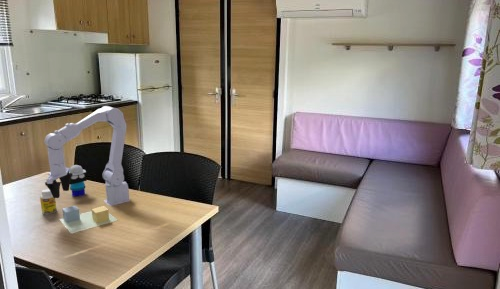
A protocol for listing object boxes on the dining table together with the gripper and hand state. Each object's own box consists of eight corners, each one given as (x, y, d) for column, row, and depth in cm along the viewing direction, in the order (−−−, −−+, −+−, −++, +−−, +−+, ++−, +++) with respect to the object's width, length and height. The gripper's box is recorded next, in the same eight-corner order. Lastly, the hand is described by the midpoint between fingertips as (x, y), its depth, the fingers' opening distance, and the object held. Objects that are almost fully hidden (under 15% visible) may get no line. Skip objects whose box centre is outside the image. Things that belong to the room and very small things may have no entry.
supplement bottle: (43, 216, 158) (39, 193, 155) (41, 211, 162) (38, 189, 160) (57, 213, 161) (54, 191, 158) (56, 209, 165) (53, 187, 163)
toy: (69, 199, 175) (65, 169, 172) (68, 193, 183) (65, 163, 179) (89, 196, 179) (86, 166, 175) (87, 190, 187) (84, 161, 183)
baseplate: (103, 209, 165) (103, 207, 165) (117, 221, 154) (117, 220, 154) (59, 220, 154) (59, 219, 154) (71, 235, 142) (71, 233, 142)
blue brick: (76, 215, 158) (75, 205, 156) (80, 219, 154) (78, 209, 153) (63, 218, 154) (62, 208, 153) (67, 222, 151) (65, 212, 150)
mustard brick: (104, 215, 157) (103, 205, 156) (109, 219, 154) (108, 209, 153) (92, 219, 154) (91, 209, 153) (96, 223, 151) (95, 213, 149)
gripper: (57, 157, 159) (61, 187, 163) (36, 168, 145) (41, 200, 149) (73, 157, 159) (77, 187, 162) (54, 168, 145) (59, 201, 148)
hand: (61, 194), depth 155 cm, fingers open, 7 cm apart
